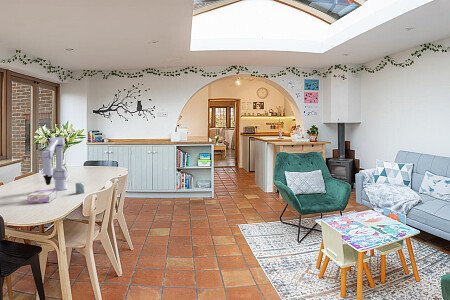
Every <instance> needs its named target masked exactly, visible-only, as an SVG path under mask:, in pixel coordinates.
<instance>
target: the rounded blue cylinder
mask: <svg viewBox="0 0 450 300" xmlns="http://www.w3.org/2000/svg"><path fill="white" fill-rule="evenodd" d="M75 194H76V195H83V194H85V182H75Z"/></svg>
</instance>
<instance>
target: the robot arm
mask: <svg viewBox="0 0 450 300" xmlns="http://www.w3.org/2000/svg"><path fill="white" fill-rule="evenodd" d="M65 145H66V140H65V138H64V137H59V136H57V137H50V138H49V145H47V146H46V148H45V149H44V150H43V151H41V153H40V157H41V161H42V172H41V174H42V175H43V176H42V177H43V178H44V181H45V184H46V186H49V185H51V182H52V178H53V179H54V188H53V190H57V192H58V191H65V190H67V188H66V178H68V170H67V168H65V167H64V164H63V163H64V160H63V159H64V158H63V157H64V156H63V154H64V153H63V151H64V150H63V148H65ZM54 152H55V155H56V156H55V161H56V163H55V165H56V167H55V168H53V167H52V166H53V164H52V163H53V162H52V159H53V155H54Z"/></svg>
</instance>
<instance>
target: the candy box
mask: <svg viewBox="0 0 450 300" xmlns="http://www.w3.org/2000/svg"><path fill="white" fill-rule="evenodd" d="M57 193H58V191H57V190H55V189H47V190H43V189H42V190H35V191H33V192H31V193H29V194H28V195H27V196H26V197H27V204H42V203H43V204H44V203H45V204H46V203H50V202H52V201H53V200H55V199H56V198H57V197H58V196H57V195H58V194H57Z"/></svg>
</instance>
